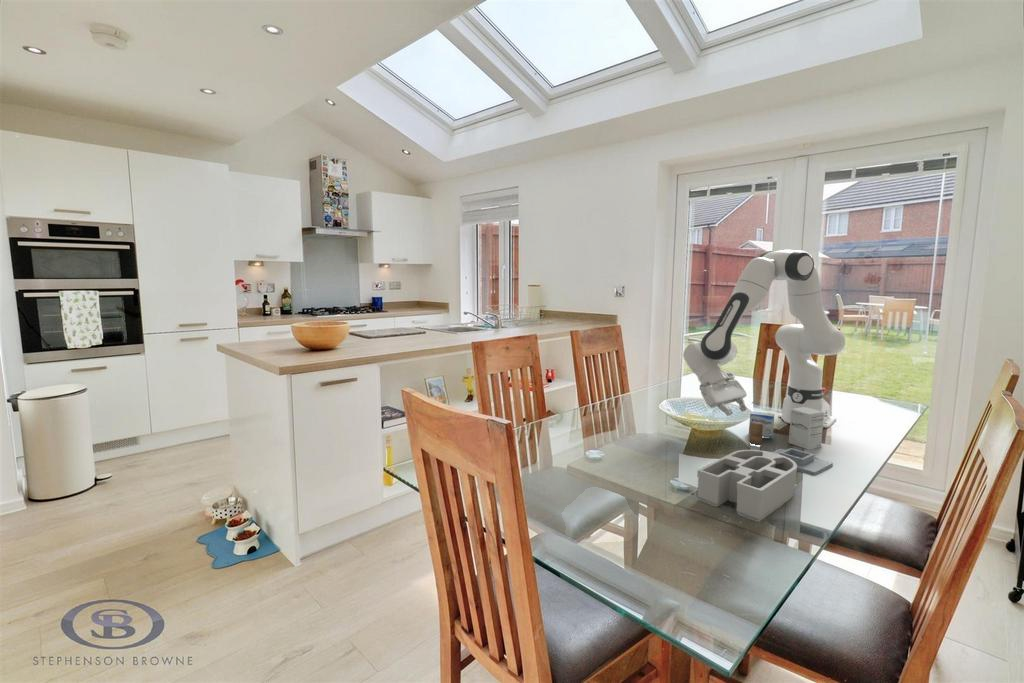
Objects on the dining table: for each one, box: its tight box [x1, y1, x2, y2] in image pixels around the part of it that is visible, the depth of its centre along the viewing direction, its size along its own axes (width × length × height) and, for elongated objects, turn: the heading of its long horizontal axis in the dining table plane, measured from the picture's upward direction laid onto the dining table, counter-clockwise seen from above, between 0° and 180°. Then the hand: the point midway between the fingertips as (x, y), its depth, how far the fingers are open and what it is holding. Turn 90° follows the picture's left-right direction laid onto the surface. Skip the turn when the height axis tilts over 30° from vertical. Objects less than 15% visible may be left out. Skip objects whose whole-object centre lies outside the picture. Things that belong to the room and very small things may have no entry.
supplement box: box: [788, 407, 824, 450], centre depth 170 cm, size 7×7×13 cm
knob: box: [748, 421, 763, 446], centre depth 171 cm, size 4×4×8 cm
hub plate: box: [771, 447, 833, 477], centre depth 155 cm, size 12×16×3 cm
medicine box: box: [748, 411, 775, 438], centre depth 180 cm, size 8×4×9 cm, turn 62°
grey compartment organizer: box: [697, 449, 798, 523], centre depth 133 cm, size 17×28×9 cm, turn 130°
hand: (737, 412), depth 175 cm, fingers open, 8 cm apart
